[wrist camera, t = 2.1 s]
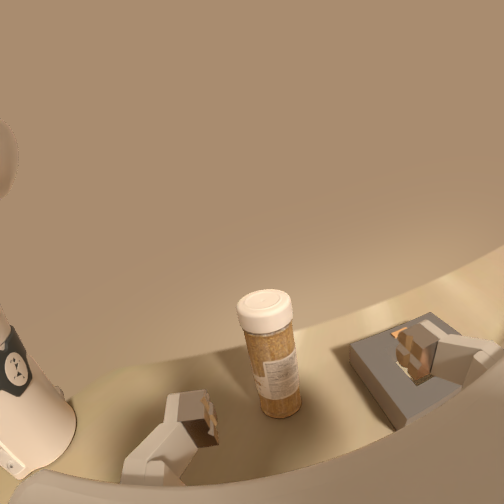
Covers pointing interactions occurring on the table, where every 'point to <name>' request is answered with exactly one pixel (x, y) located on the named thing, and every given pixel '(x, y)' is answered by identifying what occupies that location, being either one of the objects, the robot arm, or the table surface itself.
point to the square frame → (399, 376)
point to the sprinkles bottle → (271, 350)
